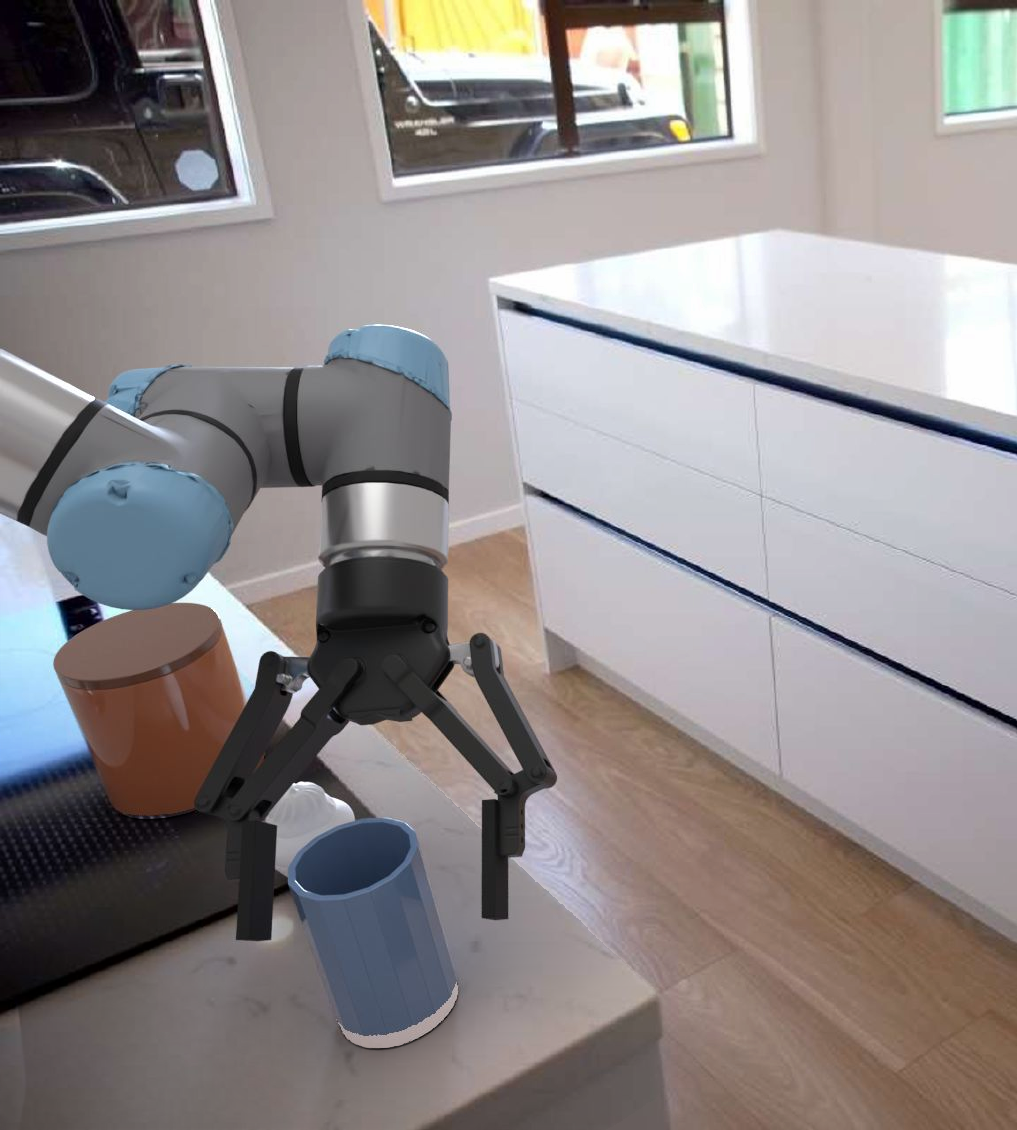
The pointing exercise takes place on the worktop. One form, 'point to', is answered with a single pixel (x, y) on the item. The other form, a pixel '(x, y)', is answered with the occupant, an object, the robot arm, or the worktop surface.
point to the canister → (153, 702)
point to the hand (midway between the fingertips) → (374, 930)
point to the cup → (373, 925)
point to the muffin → (304, 819)
